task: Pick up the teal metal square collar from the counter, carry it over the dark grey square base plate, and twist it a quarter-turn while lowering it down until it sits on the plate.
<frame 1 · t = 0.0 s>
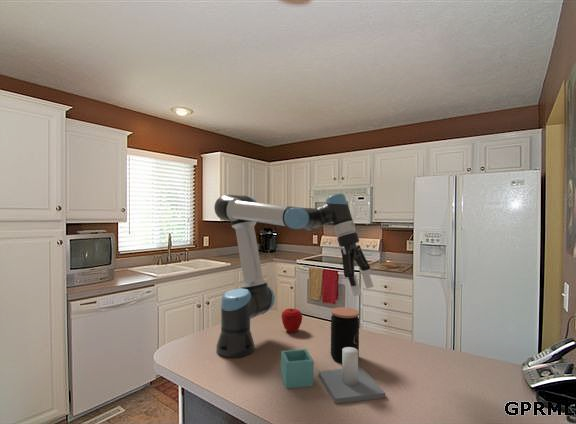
hand: (364, 291, 112), 28 cm above the table, tool tilted 20°, fingers open, 13 cm apart
apple: (291, 331, 147), on the table
grey square base plate: (349, 386, 100), on the table
coffee jar: (344, 358, 120), on the table
collar: (296, 379, 104), on the table
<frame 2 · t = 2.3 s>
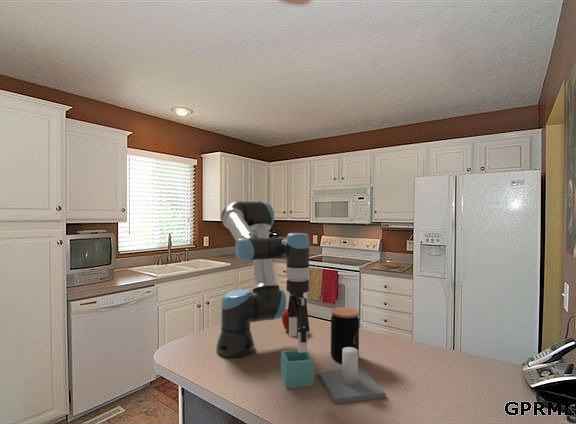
hand: (297, 343, 103), 12 cm above the table, tool pointing down, fingers open, 13 cm apart
nothing on the table moved.
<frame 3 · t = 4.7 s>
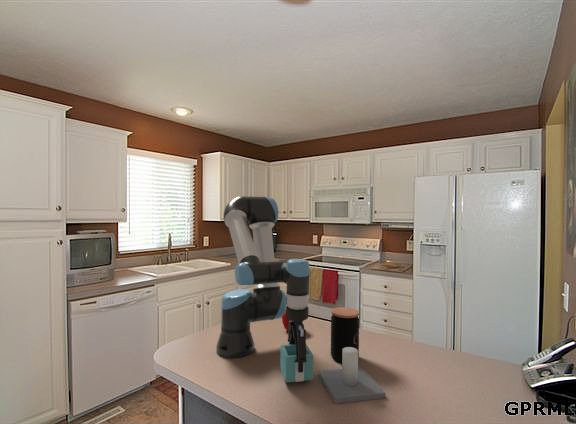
hand: (295, 372, 104), 2 cm above the table, tool pointing down, fingers closed on collar, 9 cm apart
collar: (295, 373, 104), point 2 cm above the table, touching gripper
everything else where it was.
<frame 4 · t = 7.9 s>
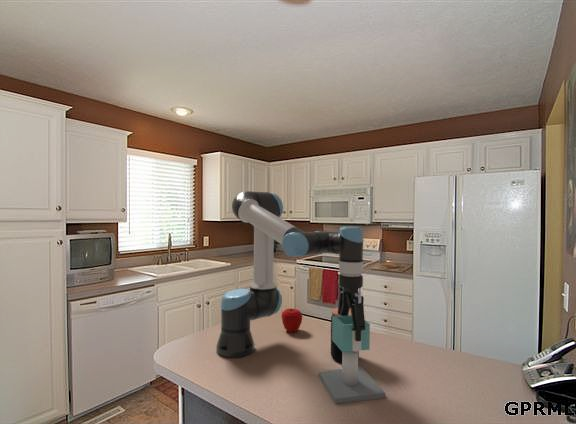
hand: (350, 344, 100), 14 cm above the table, tool pointing down, fingers closed on collar, 9 cm apart
collar: (350, 344, 100), point 13 cm above the table, touching gripper
everything else where it was.
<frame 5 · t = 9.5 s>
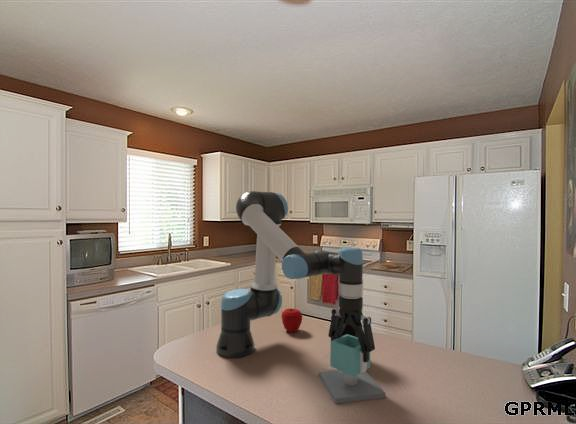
hand: (350, 365, 100), 7 cm above the table, tool pointing down, fingers closed on collar, 9 cm apart
collar: (350, 366, 100), point 6 cm above the table, touching gripper
everything else where it was.
when the fingers open (3 cm above the table, at t = 10.9 s): collar drops 1 cm, resting on grey square base plate.
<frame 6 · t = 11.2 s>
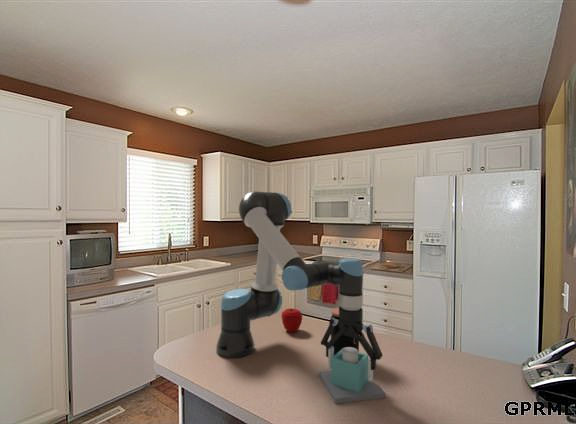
hand: (349, 373, 100), 4 cm above the table, tool pointing down, fingers open, 13 cm apart
collar: (349, 381, 100), point 1 cm above the table, touching grey square base plate
everything else where it was.
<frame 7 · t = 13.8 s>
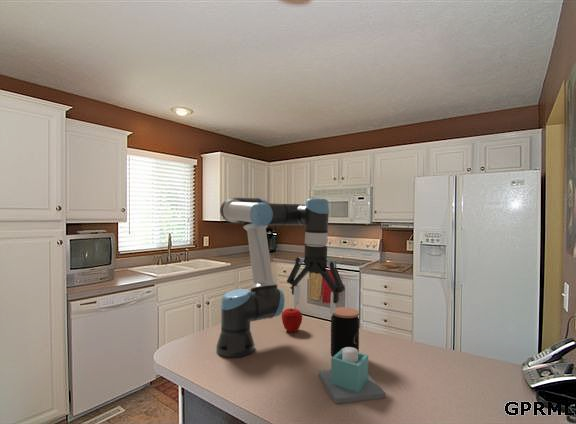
hand: (313, 308, 104), 24 cm above the table, tool pointing down, fingers open, 13 cm apart
nothing on the table moved.
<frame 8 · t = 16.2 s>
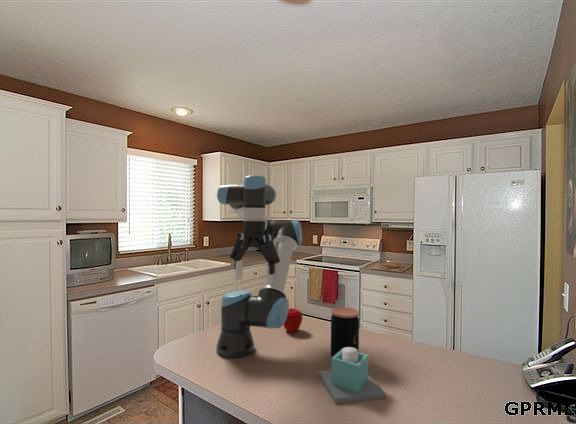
hand: (253, 281, 108), 32 cm above the table, tool pointing down, fingers open, 13 cm apart
nothing on the table moved.
at the end: collar 0.0 cm from the grey square base plate (horizontally); collar point 1.5 cm above the table; the gripper is holding nothing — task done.
